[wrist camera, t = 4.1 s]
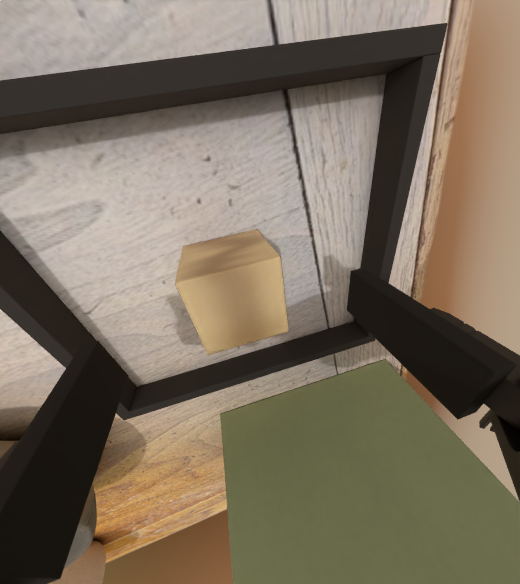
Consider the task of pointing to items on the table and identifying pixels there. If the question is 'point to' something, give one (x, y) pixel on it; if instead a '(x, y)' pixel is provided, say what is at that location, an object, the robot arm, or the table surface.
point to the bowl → (85, 525)
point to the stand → (361, 490)
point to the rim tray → (215, 86)
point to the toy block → (233, 290)
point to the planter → (86, 567)
